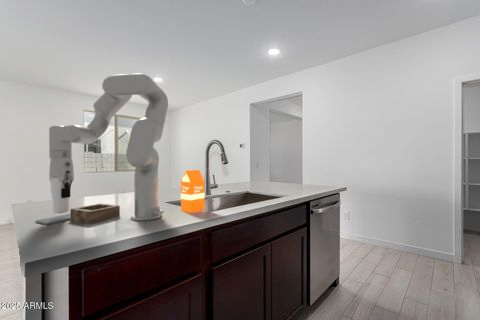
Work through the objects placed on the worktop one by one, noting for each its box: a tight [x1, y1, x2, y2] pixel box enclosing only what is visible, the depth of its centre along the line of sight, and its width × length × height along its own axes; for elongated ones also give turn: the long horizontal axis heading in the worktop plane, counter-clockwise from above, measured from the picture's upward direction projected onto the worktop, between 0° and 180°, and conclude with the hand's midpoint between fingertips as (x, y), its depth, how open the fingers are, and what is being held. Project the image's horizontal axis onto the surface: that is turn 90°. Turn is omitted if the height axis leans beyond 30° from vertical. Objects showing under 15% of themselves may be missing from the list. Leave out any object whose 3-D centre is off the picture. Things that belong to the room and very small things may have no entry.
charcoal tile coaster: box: [35, 213, 71, 226], centre depth 99 cm, size 9×14×1 cm, turn 154°
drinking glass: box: [50, 177, 71, 214], centre depth 99 cm, size 7×7×15 cm
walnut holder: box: [70, 203, 121, 225], centre depth 100 cm, size 13×13×5 cm
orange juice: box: [180, 169, 205, 214], centre depth 115 cm, size 8×9×20 cm
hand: (61, 196), depth 99 cm, fingers closed on drinking glass, 6 cm apart
